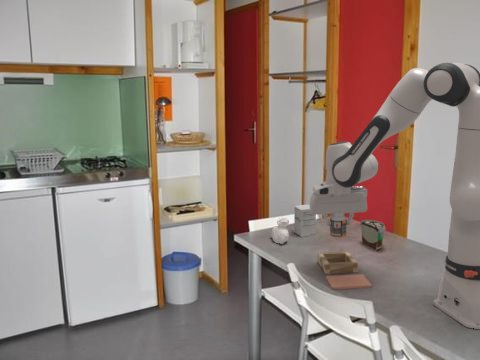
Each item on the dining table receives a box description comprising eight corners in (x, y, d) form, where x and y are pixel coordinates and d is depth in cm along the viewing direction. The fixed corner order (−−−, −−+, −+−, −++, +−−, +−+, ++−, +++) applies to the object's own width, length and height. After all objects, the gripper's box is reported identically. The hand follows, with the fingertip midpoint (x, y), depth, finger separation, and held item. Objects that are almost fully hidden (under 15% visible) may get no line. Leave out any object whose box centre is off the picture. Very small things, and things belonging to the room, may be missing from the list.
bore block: (357, 272, 167) (357, 263, 166) (325, 274, 166) (325, 264, 165) (348, 260, 178) (348, 251, 177) (317, 261, 177) (317, 253, 177)
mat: (371, 287, 154) (371, 285, 154) (332, 289, 154) (332, 287, 153) (362, 276, 163) (362, 274, 163) (325, 278, 162) (325, 276, 162)
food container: (391, 250, 187) (392, 226, 185) (378, 252, 185) (379, 228, 183) (372, 240, 199) (372, 218, 196) (359, 243, 196) (360, 220, 194)
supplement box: (293, 232, 212) (293, 205, 210) (308, 230, 214) (308, 203, 212) (300, 237, 205) (300, 209, 203) (316, 235, 208) (316, 207, 205)
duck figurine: (287, 250, 196) (302, 227, 197) (274, 242, 193) (289, 219, 194) (275, 241, 207) (289, 220, 208) (262, 233, 204) (276, 212, 205)
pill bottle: (346, 240, 166) (346, 213, 164) (329, 239, 167) (329, 212, 165) (346, 235, 172) (346, 208, 170) (330, 234, 173) (330, 208, 171)
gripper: (364, 184, 169) (364, 220, 172) (308, 186, 168) (308, 223, 171) (370, 187, 163) (369, 225, 166) (312, 190, 162) (312, 228, 165)
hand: (338, 224), depth 169 cm, fingers closed on pill bottle, 6 cm apart
